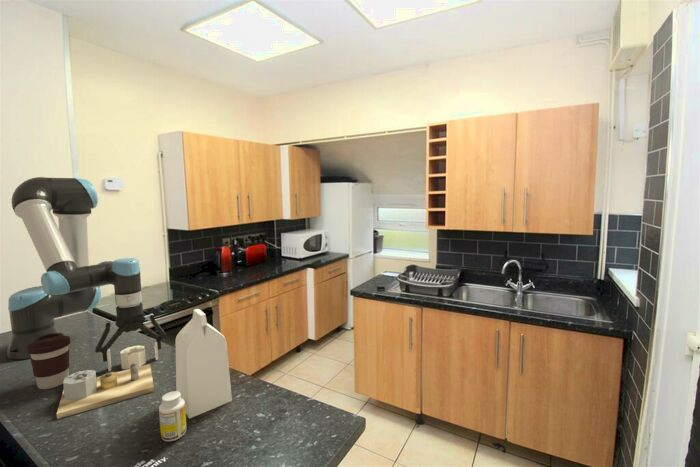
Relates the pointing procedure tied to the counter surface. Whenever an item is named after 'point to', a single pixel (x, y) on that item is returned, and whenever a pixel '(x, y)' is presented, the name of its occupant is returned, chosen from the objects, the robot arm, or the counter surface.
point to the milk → (202, 366)
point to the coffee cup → (50, 359)
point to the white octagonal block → (133, 356)
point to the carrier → (111, 390)
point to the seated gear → (80, 385)
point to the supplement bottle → (172, 416)
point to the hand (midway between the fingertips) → (134, 363)
